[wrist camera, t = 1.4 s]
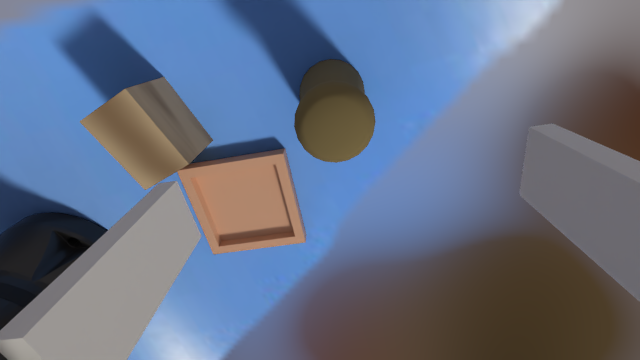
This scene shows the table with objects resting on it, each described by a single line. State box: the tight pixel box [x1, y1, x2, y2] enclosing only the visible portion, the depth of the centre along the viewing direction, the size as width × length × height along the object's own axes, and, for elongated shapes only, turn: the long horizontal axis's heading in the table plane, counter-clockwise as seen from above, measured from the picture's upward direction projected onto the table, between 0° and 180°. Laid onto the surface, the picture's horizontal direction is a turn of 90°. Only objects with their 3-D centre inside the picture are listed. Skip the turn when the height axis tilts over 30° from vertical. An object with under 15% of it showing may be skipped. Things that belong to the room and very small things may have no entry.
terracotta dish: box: [177, 148, 306, 254], centre depth 32 cm, size 11×11×1 cm
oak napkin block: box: [80, 77, 213, 190], centre depth 26 cm, size 5×7×6 cm
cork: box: [294, 59, 375, 162], centre depth 23 cm, size 6×6×11 cm
